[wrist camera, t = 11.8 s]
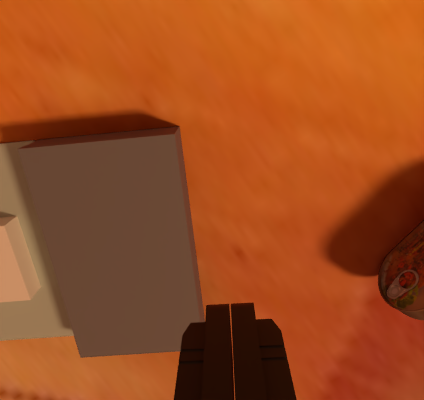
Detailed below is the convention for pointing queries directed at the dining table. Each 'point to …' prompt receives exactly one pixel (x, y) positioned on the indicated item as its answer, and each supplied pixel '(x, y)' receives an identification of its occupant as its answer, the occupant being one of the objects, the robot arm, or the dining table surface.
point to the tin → (405, 275)
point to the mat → (49, 292)
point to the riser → (118, 237)
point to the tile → (15, 263)
